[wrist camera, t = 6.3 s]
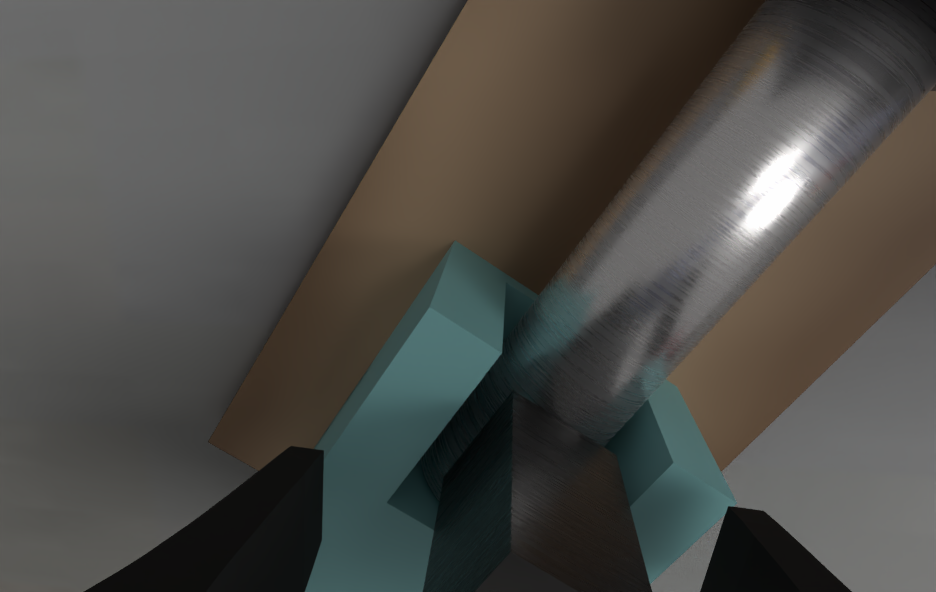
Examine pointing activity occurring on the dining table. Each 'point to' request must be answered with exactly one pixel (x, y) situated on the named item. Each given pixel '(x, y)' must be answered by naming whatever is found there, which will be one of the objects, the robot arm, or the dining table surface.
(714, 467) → the teal cradle
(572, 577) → the silver elongated piece
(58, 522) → the dining table surface
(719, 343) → the walnut board
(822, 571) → the robot arm
